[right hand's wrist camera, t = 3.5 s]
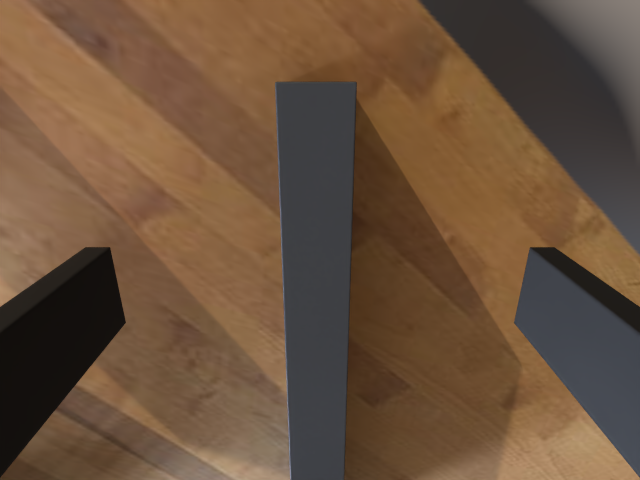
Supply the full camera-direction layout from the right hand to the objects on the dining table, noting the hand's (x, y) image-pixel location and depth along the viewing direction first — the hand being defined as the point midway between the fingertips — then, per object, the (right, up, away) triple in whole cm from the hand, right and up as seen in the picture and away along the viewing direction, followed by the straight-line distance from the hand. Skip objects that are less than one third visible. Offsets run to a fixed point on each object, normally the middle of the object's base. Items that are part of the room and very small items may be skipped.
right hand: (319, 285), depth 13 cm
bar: (0, -10, +29) cm, 31 cm away
